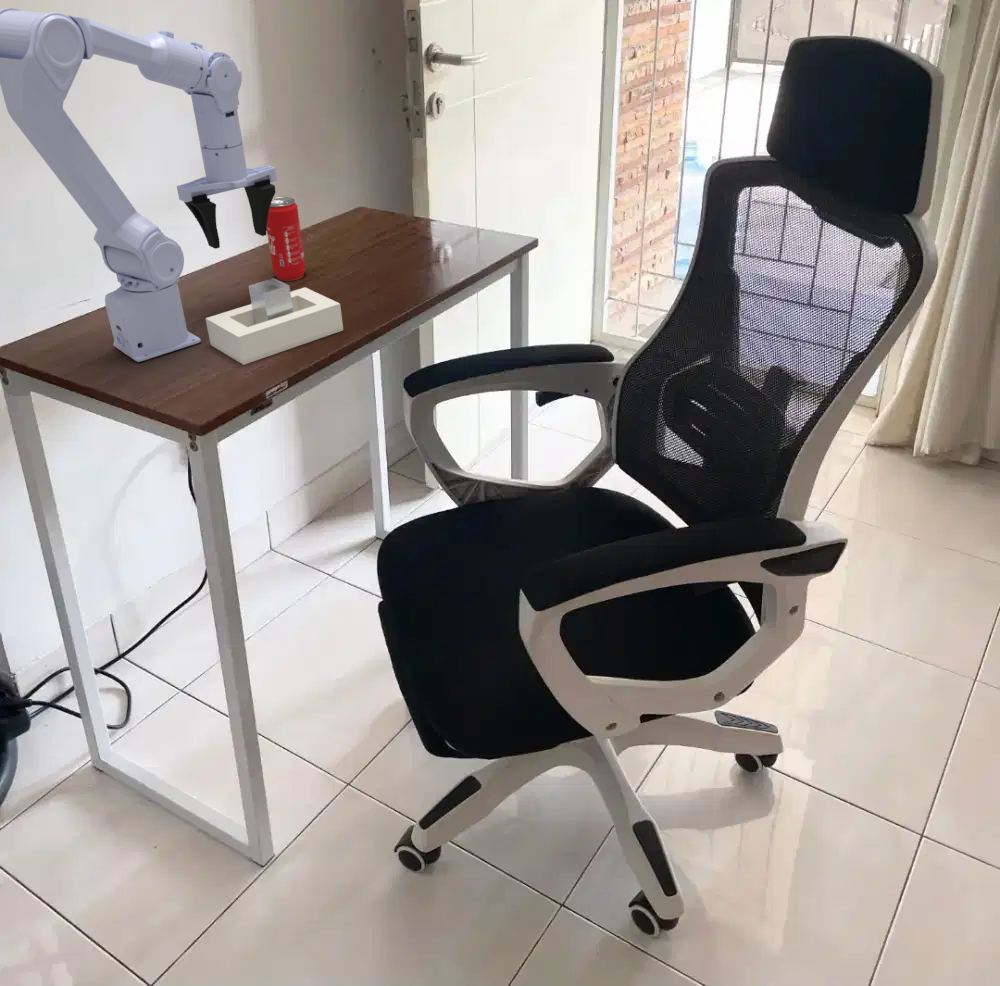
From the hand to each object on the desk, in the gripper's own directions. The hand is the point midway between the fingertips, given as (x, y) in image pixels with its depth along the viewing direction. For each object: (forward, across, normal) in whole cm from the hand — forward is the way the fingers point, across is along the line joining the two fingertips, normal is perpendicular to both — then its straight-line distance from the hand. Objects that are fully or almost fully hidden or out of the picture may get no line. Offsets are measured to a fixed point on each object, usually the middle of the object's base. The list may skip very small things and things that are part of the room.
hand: (238, 240), depth 146 cm
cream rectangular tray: (+10, -4, -14) cm, 18 cm away
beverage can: (+10, +11, +6) cm, 16 cm away
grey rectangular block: (+9, -4, -14) cm, 17 cm away
